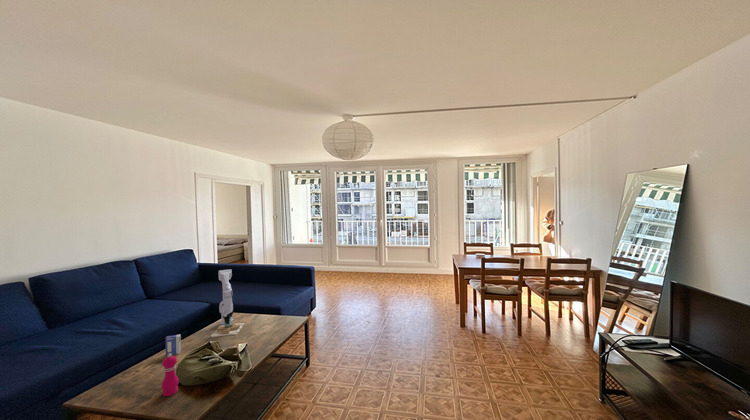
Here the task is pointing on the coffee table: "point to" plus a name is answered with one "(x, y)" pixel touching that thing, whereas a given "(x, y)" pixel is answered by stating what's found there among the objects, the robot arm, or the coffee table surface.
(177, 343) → the walkman
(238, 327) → the board
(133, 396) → the coffee table surface
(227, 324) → the piece
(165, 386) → the pepper mill
